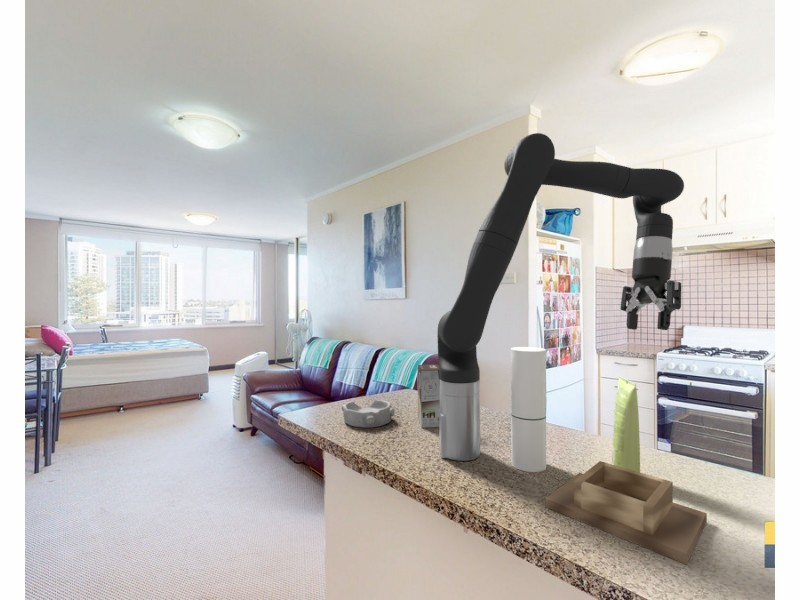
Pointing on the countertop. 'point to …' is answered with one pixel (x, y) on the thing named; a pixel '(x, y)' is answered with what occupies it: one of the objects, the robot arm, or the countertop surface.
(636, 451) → the tube
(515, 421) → the cylindrical container
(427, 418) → the coffee box
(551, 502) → the wooden box on board
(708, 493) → the countertop surface
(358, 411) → the dish
